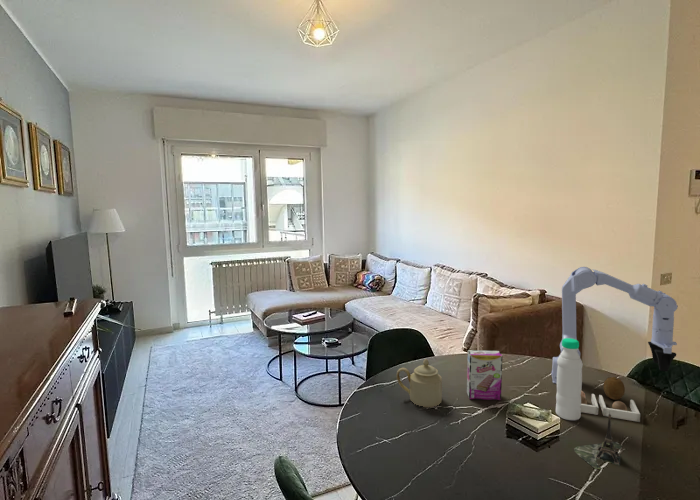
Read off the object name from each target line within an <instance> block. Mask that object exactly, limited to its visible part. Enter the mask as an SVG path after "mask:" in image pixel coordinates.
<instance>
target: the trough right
mask: <svg viewBox="0 0 700 500" xmlns="http://www.w3.org/2000/svg"><path fill="white" fill-rule="evenodd" d="M598 403H599V404H598V405H599V406H600V409H601V413H602V415H603V417H608V415H609V414H610V415H611V418H614V419H621V420H627V421H631V422H632V421H633V422H638V423H641V413H640V411H639V409H638V407H637V405H636V402H635V400H634V399H630V400H629V407H630V408H629V409H630V411H629V410H627V411H624V410H618V409H612V407H611V408H609V407H607V406H606V402H605V401H604V397H603V395H602V394H599V395H598ZM608 418H609V417H608Z"/></svg>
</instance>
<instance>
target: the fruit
mask: <svg viewBox="0 0 700 500" xmlns="http://www.w3.org/2000/svg"><path fill="white" fill-rule="evenodd" d="M602 388H603V391H604V394H605V396H606V397H607V398H609V399H611V400H613V401H618V400H621V399H622V398H623V397H624V395H625V392H626V388H625V385H624V382H623V381H622V380H621V379H620V378H618V377H616V376H611V377H607V378H606V379H605V380H604V382H603V386H602Z"/></svg>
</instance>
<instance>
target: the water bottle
mask: <svg viewBox="0 0 700 500" xmlns="http://www.w3.org/2000/svg"><path fill="white" fill-rule="evenodd" d="M561 341H562V347H563V351H562V352H561V351H560V354H559V355H560V356H559V355H558V356H557V357H558V360H557V364H558V368H557V383H556V395H555V399H556V401H555V403H556V404H555V414H556V415H557V416H558V417H560V418H561V419H564V420H566V421H578V420H579V419H580V418H581V413H582V412H581V408H580V406H581V390H582V386H583V366H584V364H583V361H582V358H581V355H580V356H579V354H578V352H577V350H578V349H579V347H580V341H579V340H578V339H577V340H575V339H571V338H565V339H563V340H562V339H561Z"/></svg>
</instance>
